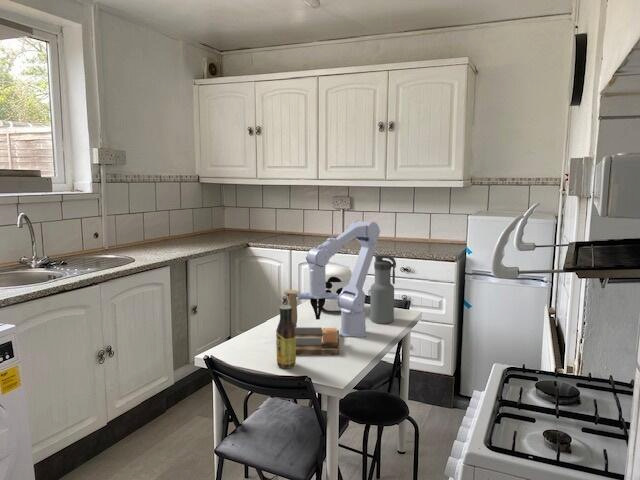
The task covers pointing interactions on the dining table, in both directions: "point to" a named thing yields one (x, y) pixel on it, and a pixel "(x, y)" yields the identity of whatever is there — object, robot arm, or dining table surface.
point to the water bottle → (382, 290)
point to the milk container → (335, 286)
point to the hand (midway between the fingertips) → (317, 318)
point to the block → (329, 334)
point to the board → (318, 346)
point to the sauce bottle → (286, 339)
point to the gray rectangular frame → (308, 339)
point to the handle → (292, 303)
